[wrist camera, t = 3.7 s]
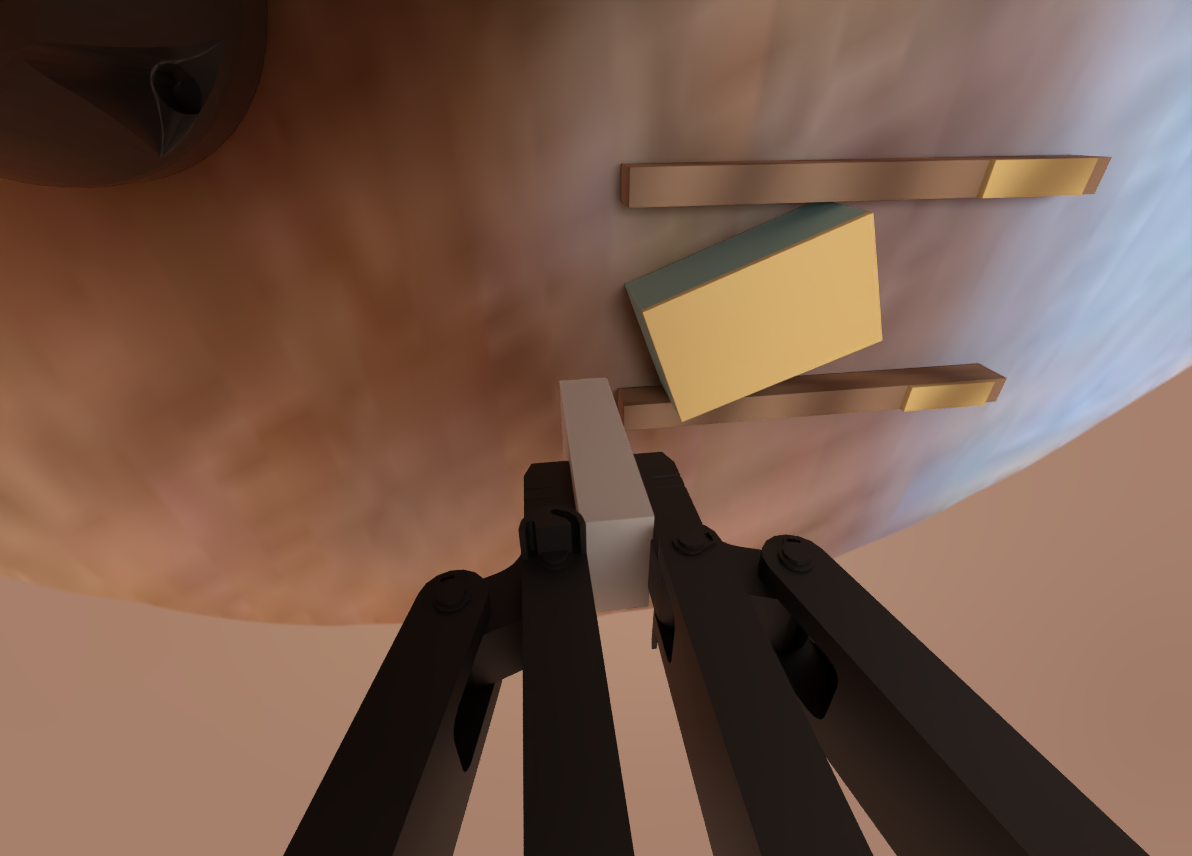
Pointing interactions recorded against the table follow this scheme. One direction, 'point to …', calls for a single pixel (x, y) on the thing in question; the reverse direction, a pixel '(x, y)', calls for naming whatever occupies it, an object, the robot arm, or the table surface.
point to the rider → (761, 306)
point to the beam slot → (833, 185)
